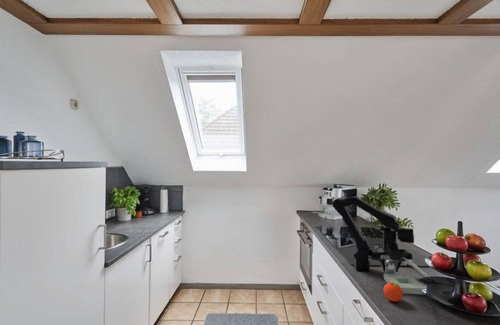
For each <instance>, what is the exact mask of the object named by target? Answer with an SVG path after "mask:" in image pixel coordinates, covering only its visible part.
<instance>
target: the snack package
mask: <svg viewBox="0 0 500 325" xmlns="http://www.w3.org/2000/svg"><path fill="white" fill-rule="evenodd" d="M372 250H378V251H379V252H382V251H381V250H380V249H379V248H378V247H377V248H376V247H375V246H374V245H372ZM367 257H368V259H371V260H376V261H377V260H378V259H373V258H371V256H370V255H369V256H367Z"/></svg>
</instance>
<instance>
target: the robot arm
mask: <svg viewBox="0 0 500 325" xmlns="http://www.w3.org/2000/svg"><path fill="white" fill-rule="evenodd" d="M331 204H332V207H333V209H334V210H335V211H336V213H338V214H339V215H340V216H341V217H342V219H343V221H344V223H345V225H346V227H347V228H348V230H349V232H350V234H351V236H352V238H353V239H354V241H355V244H356V245H355V246H356V247H355V248H356V249H357V250H356V251H355V253H354V254H353V256H354V257H353V258H354V260H353V261H354V265H353V268H354V269H355V270H356V272H371V270H370V266H371V265H370V260H369V257H368V256H369V255H370V256H371V258H373V259H372V260H374V259H377V260H378V261H379V263H380V266H381V268H382V271H383V272H384V273H386V259H385V257H389V259H391V260H394V261H395V273H398V272H399V269H400V267H401V264H403V261H406V260H412V261H413V259H414V256H413V254H412V253H411V252H410V251H408V250H406V249H401V248H399V245H398V243H397V240H399V241H400V243H407V244H415V234H414V228H405V227H401V225H400V224H399V223H398V222H397V218H396V216H395V215H394V214H392V213H390V212H387V211H384V210H380V209H378V208H377V207H375V206H374V205H372V204H370V203H369V202H366V201H365V200H363V199H361V198H360V197H359V196H352V197H346V198H343V197H339V198H335V199H334V200H333V201H332V203H331ZM353 205H354V206H356V207H358V208H359V209H361V210H363V211H364V212H365V213H367V214H369V215H371V216H372V217H374V218H375V219H376V220H378V221H379V222H380V224H382V225H381V227H379V228H378V231H380V232H383V233H382V234H383V238H382V244H383V248H382V251H381V252H379V251H378V250H372V246H373V244H372V243H371V241H370V239H369V238H365V237H364V236H363V235H362V233H361V231H360V229H359V227H358V225H357V224H356V222H355V221H354V219H353V216H352V215H351V214H350V211H349V207H348V206H353ZM371 258H370V259H371ZM405 259H406V260H405Z"/></svg>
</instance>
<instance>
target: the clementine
mask: <svg viewBox="0 0 500 325" xmlns="http://www.w3.org/2000/svg"><path fill="white" fill-rule="evenodd" d="M399 285H400V284H398V283H392V282H390V283H387V282H386V284H385V285H384V286H383V294H384V296H385V297H386V298H387V299H388V300H389V301H390V302H391V301H392V302H394V303H395V302H399V301H401V300H402V299H403V296H404V294H403V291H402V289H401V287H400V286H399ZM401 286H402V285H401ZM402 287H403V286H402Z"/></svg>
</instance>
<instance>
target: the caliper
mask: <svg viewBox="0 0 500 325" xmlns="http://www.w3.org/2000/svg"><path fill="white" fill-rule="evenodd" d="M405 260H406V259H405ZM402 264H403V265H404V266H408V265H409V266H410V267H412V268H414V270H416V272H418V273H419V274H420V275H422V277H423V278H425V277H429V278H430V275H428V274H427V273H426V272H425V271H424V270H422V269H421V268H420V267H419V266H418V265H417V264H415V263H414V262H413V259H412V260H406V261H403V262H402Z"/></svg>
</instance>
